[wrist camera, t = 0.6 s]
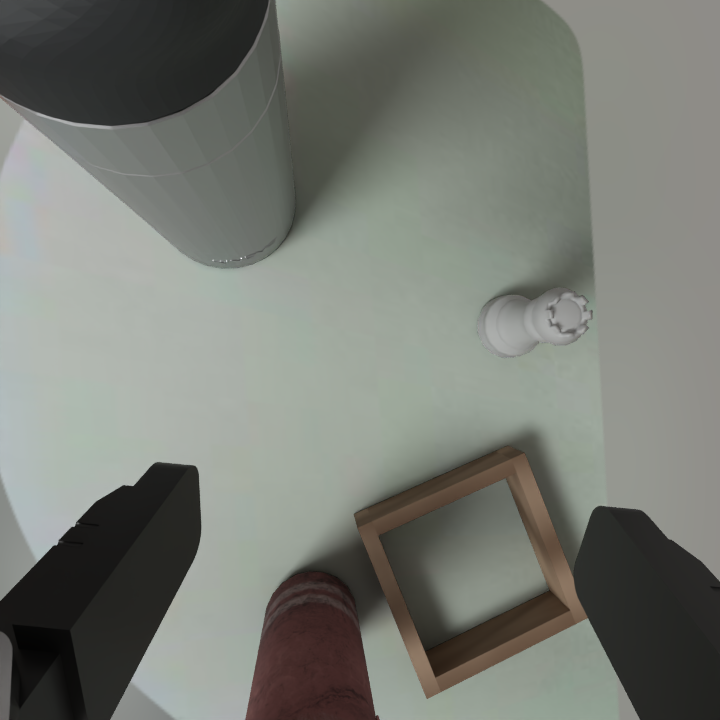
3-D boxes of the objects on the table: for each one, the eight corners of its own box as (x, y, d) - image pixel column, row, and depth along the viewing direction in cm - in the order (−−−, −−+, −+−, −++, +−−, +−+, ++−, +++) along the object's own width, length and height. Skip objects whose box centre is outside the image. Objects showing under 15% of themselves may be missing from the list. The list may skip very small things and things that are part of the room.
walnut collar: (353, 514, 30) (357, 527, 27) (507, 445, 31) (524, 452, 28) (417, 671, 30) (426, 699, 27) (566, 597, 31) (588, 617, 29)
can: (374, 624, 30) (429, 855, 16) (292, 674, 29) (274, 961, 15) (333, 548, 29) (352, 715, 15) (249, 597, 29) (190, 817, 15)
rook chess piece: (538, 303, 31) (615, 282, 23) (527, 363, 31) (601, 363, 23) (480, 290, 31) (539, 264, 23) (469, 351, 31) (524, 347, 23)
